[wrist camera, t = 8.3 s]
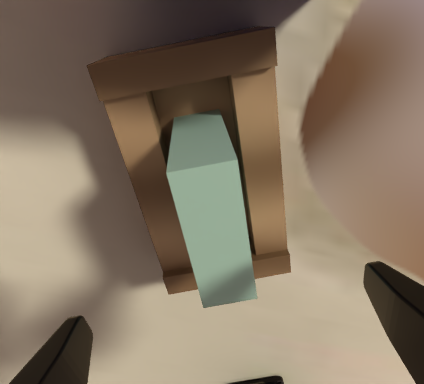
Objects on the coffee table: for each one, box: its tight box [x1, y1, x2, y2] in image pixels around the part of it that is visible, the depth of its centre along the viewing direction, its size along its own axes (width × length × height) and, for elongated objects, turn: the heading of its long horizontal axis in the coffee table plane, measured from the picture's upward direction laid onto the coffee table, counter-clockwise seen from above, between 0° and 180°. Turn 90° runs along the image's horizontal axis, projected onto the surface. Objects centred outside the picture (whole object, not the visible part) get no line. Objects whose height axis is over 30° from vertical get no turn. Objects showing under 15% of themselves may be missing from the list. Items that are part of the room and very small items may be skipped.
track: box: [87, 26, 291, 294], centre depth 18 cm, size 14×8×4 cm, turn 10°
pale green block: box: [166, 109, 257, 308], centre depth 15 cm, size 7×3×7 cm, turn 10°
